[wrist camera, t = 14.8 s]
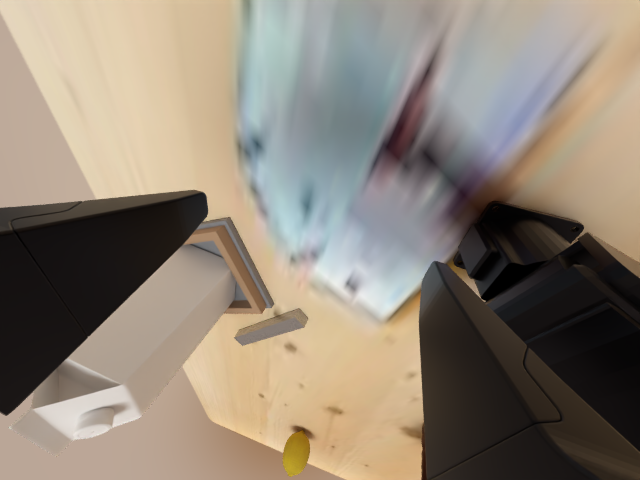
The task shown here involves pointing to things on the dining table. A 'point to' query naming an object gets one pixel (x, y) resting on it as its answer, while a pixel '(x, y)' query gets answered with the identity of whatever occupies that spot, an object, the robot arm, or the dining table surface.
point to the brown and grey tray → (234, 265)
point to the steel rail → (272, 327)
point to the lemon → (296, 453)
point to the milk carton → (131, 352)
